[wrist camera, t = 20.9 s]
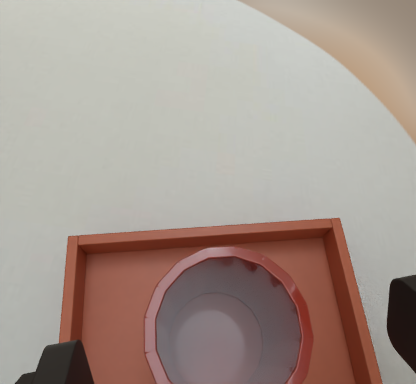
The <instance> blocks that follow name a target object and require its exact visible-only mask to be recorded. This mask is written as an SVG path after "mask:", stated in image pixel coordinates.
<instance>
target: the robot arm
mask: <svg viewBox="0 0 416 384" xmlns="http://www.w3.org/2000/svg"><path fill="white" fill-rule="evenodd" d="M387 332H388V336H389V339H390V341H391V343H392V345H393V347H394V348H395V350H396V351H397V352H398V354H399V355H400V356H401V357H402V358H403V359H404V360H405V362H406V363H407V364H408V365H409V366H410V367H411V368H412V370H413V371H414V372H415V373H416V275H411V276H406V277H401V278H396V279H393V280H392V282H391V284H390V291H389V303H388V315H387ZM15 384H94V381H93V377H92V374H91V370H90V367H89V363H88V360H87V356H86V353H85V349H84V346H83V343H82V342H81V340H79V339H78V340H73V341H68V342H63V343H58V344H53V345H48V346H46V347H45V349H44V351H43V353H42V356H41V358H40V361H39V364H38V367H37V369H36V372H32V373H27V374H23V375H22V376H21V377H20V378H19V379H18V381H17V382H16V383H15Z"/></svg>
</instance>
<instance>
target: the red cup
mask: <svg viewBox="0 0 416 384" xmlns="http://www.w3.org/2000/svg"><path fill="white" fill-rule="evenodd" d="M144 317H145V318H144V353H145V354H144V356H145V358H146V361H147V363H148V366H149V368H150V371H151V373H152V376H153V378H154V381H155V383H156V384H302V383H303V382H304V380H305V379H306V377H307V374H308V371H309V366H310V360H311V354H312V349H313V343H314V339H313V338H314V335H313V330H312V325H311V320H310V314H309V309H308V305H307V302H306V301H305V299H304V297H303V296H302V294H301V292H300V291H299V289H298V287H297V286H296V284H295V282H294V281H293V279H292V278H291V276H289V274H288V273H287V272H286V271H284V270H283V269H282V268H281V267H279V266H278V265H277V264H276V263H274V262H273V261H272V260H271V259H269V258H268V257H267V256H264V255H263V254H260V253H257V252H254V251H251V250H248V249H245V248H241V247H238V246H223V247H209V248H206V249H205V248H204V249H202V250H200V251H197V252H195V253H193V254H191V255H189V256H187V257H185V258H183V259H181V260H179V261H178V262H176V263H175V265H174V266H173V267H172V268H171V269H170V270H169V271H168V272H167V273H166V275H165V276H164V277H163V278H162V279H161V280H160V281H159V282H158V283H157V286H155V289H154V291H153V294H152V296H151V299H150V302H149V304H148V307H147V310H146V312H145V315H144Z"/></svg>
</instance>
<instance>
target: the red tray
mask: <svg viewBox="0 0 416 384" xmlns="http://www.w3.org/2000/svg"><path fill="white" fill-rule="evenodd" d="M223 246H238V247H241V248H245V249H248V250H251V251H254V252H257V253H260V254H263V255H264V256H267V257H268V258H269V259H271V260H272V261H273V262H274V263H276V264H277V265H278V266H279V267H281V268H282V269H283V270H284V271H286V272H287V273H288V274H289V276H291V278H292V279H293V281H294V282H295V284H296V286H297V287H298V289H299V291H300V292H301V294H302V296H303V297H304V299H305V301H306V302H307V305H308V309H309V314H310V320H311V325H312V330H313V335H314V338H313V339H314V343H313V349H312V354H311V360H310V366H309V371H308V374H307V377H306V379H305V380H304V382H303V383H302V384H383V383H382V379H381V376H380V372H379V368H378V364H377V360H376V356H375V352H374V348H373V345H372V341H371V337H370V333H369V329H368V325H367V321H366V317H365V314H364V310H363V306H362V302H361V298H360V294H359V290H358V287H357V283H356V279H355V275H354V271H353V267H352V263H351V259H350V256H349V252H348V248H347V244H346V240H345V236H344V232H343V228H342V225H341V221H340V218H331V219H315V220H301V221H286V222H271V223H256V224H241V225H226V226H212V227H197V228H182V229H167V230H152V231H138V232H123V233H108V234H93V235H79V236H68V244H67V255H66V267H65V278H64V290H63V301H62V313H61V324H60V336H59V343H63V342H68V341H73V340H78V339H79V340H81V342H82V343H83V346H84V349H85V353H86V356H87V360H88V363H89V367H90V370H91V374H92V377H93V381H94V384H156V383H155V381H154V378H153V376H152V373H151V371H150V368H149V366H148V363H147V361H146V358H145V356H144V354H145V353H144V318H145V317H144V315H145V312H146V310H147V307H148V304H149V302H150V299H151V296H152V294H153V291H154V289H155V286H157V283H158V282H159V281H160V280H161V279H162V278H163V277H164V276H165V275H166V273H167V272H168V271H169V270H170V269H171V268H172V267H173V266H174V265H175V263H176V262H178V261H179V260H181V259H183V258H185V257H187V256H189V255H191V254H193V253H195V252H197V251H200V250H202V249H204V248H205V249H206V248H209V247H223Z"/></svg>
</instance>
